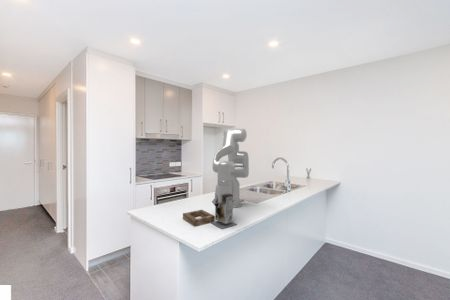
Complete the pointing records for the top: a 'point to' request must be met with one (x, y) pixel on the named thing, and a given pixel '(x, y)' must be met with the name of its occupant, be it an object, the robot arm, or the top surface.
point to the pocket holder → (200, 221)
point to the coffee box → (225, 209)
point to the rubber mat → (222, 225)
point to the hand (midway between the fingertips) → (223, 212)
